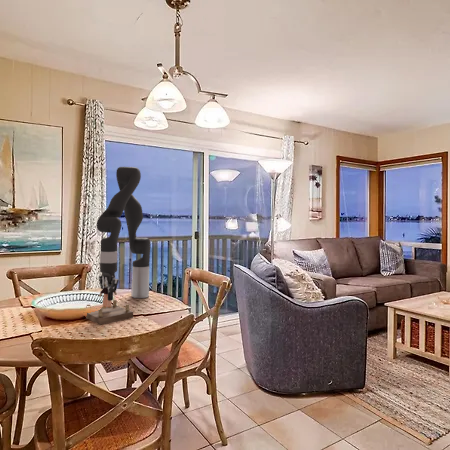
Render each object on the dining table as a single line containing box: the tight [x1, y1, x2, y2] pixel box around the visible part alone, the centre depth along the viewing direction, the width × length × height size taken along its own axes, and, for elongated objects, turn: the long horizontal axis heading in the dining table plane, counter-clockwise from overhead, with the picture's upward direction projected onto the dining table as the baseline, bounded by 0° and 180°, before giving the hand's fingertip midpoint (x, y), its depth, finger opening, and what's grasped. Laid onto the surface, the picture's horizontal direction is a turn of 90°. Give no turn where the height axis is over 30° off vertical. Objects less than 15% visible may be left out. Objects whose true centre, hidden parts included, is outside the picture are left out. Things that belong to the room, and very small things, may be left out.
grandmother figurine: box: [98, 281, 118, 309], centre depth 160 cm, size 8×4×13 cm, turn 131°
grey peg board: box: [85, 299, 134, 326], centre depth 160 cm, size 16×16×6 cm
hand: (108, 299), depth 160 cm, fingers closed on grandmother figurine, 3 cm apart
